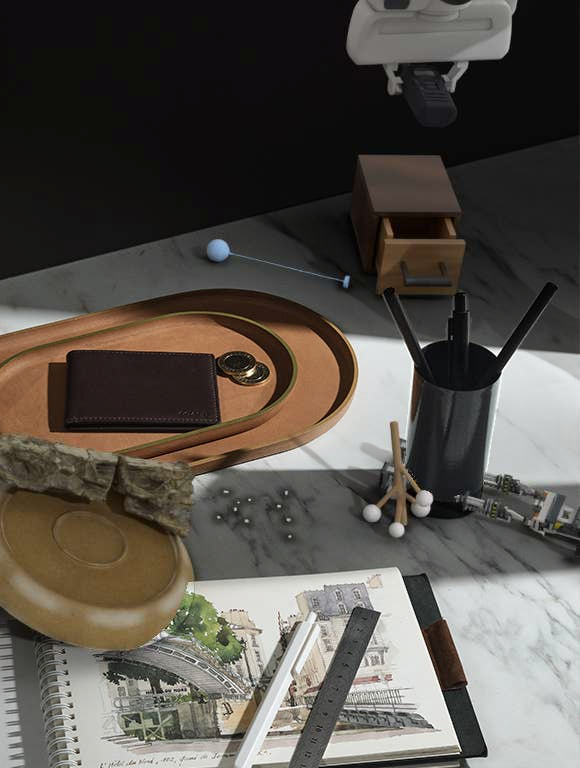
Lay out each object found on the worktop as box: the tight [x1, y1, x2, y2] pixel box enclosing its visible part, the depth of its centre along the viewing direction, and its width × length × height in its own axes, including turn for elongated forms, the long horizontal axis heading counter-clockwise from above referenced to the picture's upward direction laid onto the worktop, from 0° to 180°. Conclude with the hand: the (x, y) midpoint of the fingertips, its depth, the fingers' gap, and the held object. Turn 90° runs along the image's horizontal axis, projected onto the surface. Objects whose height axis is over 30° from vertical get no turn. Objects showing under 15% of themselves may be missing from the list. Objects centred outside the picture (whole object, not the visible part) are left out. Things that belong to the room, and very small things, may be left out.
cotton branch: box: [362, 420, 434, 538], centre depth 136 cm, size 7×6×12 cm
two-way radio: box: [399, 63, 458, 128], centre depth 163 cm, size 6×4×15 cm
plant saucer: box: [0, 481, 195, 652], centre depth 127 cm, size 24×24×3 cm
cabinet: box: [349, 154, 463, 274], centre depth 177 cm, size 16×12×10 cm
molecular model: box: [206, 238, 351, 289], centre depth 173 cm, size 3×20×3 cm, turn 68°
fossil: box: [0, 433, 196, 539], centre depth 128 cm, size 22×7×10 cm
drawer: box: [373, 216, 467, 296], centre depth 170 cm, size 19×10×8 cm, turn 0°
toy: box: [378, 437, 580, 557], centre depth 136 cm, size 8×7×30 cm
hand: (420, 92), depth 163 cm, fingers closed on two-way radio, 5 cm apart
